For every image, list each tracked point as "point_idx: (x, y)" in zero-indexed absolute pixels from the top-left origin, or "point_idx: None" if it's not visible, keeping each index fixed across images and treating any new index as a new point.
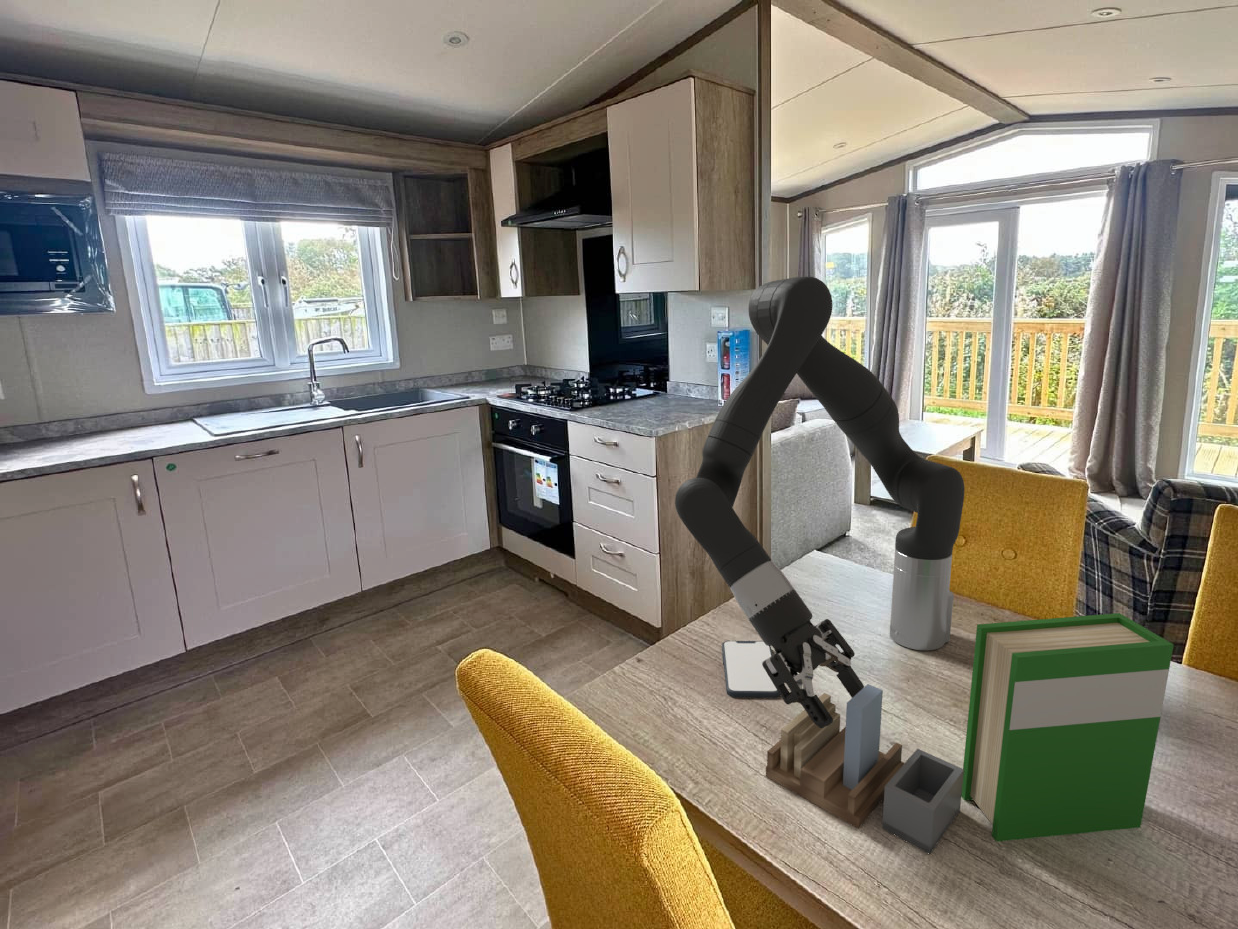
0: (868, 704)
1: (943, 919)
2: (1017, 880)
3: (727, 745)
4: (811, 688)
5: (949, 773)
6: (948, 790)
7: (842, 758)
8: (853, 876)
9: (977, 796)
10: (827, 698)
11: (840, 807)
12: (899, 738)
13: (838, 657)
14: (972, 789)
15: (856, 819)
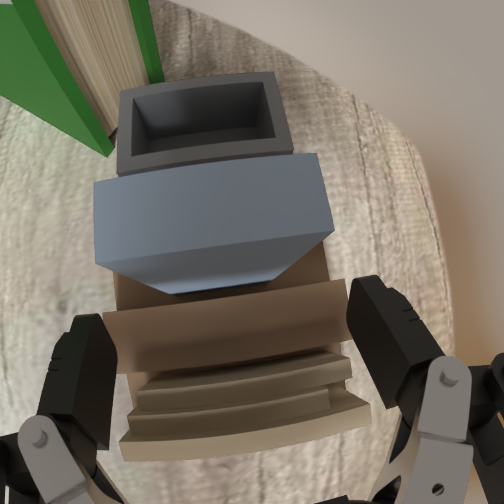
0: (249, 160)
1: (335, 82)
2: (212, 55)
3: (327, 499)
4: (436, 389)
5: (135, 113)
6: (200, 77)
7: (246, 303)
8: (382, 174)
9: (113, 118)
10: (136, 442)
11: (322, 247)
12: (43, 306)
13: (68, 485)
14: (103, 128)
15: None
